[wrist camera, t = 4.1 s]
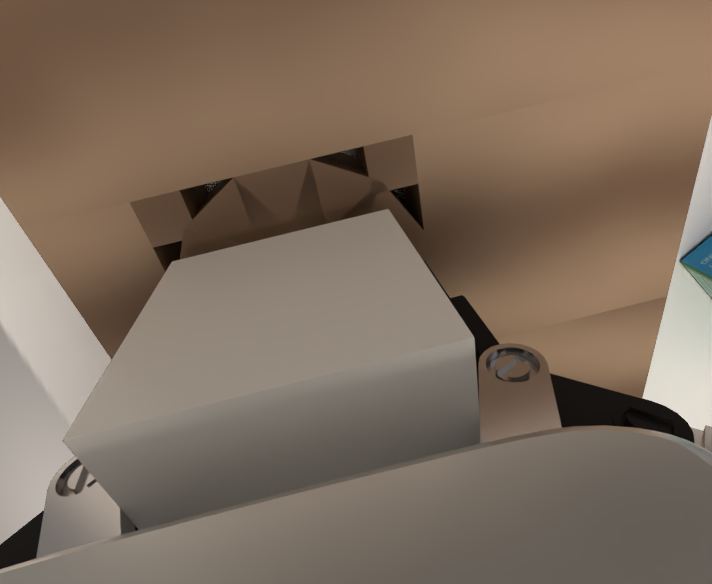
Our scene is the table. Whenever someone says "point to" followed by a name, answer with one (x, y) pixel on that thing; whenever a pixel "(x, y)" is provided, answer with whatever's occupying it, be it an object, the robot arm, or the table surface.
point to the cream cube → (280, 373)
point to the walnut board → (369, 149)
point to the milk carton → (701, 264)
